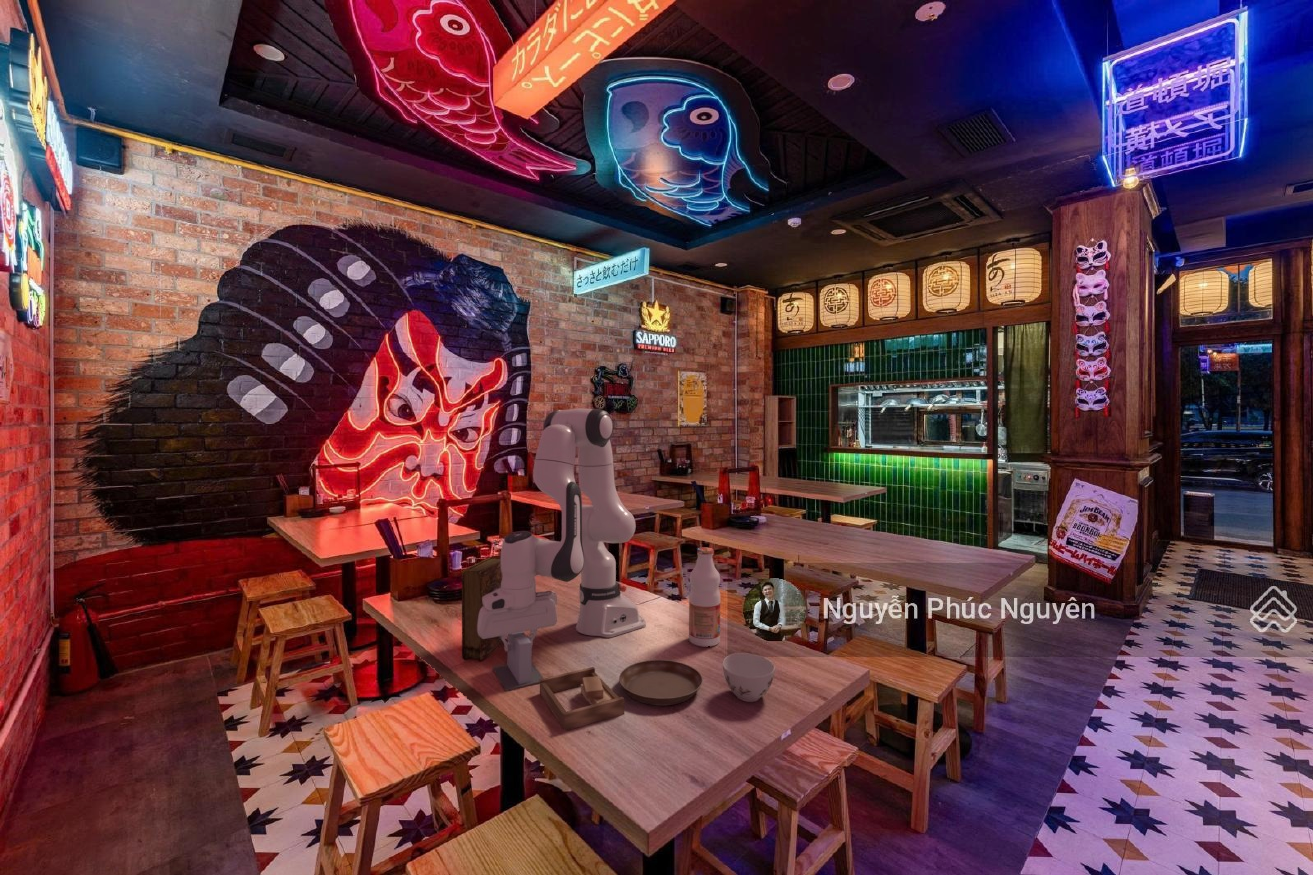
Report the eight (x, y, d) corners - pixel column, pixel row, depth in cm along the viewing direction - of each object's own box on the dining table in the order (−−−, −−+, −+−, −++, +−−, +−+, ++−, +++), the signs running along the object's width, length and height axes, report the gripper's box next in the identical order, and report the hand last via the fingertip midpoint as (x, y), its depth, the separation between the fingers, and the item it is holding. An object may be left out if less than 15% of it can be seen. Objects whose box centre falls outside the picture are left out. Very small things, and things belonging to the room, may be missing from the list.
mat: (529, 660, 149) (529, 659, 149) (545, 682, 137) (545, 680, 137) (492, 668, 144) (492, 666, 144) (505, 691, 132) (505, 689, 132)
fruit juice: (683, 638, 165) (683, 547, 164) (709, 632, 169) (710, 544, 168) (698, 649, 157) (699, 554, 156) (726, 644, 161) (727, 550, 160)
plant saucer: (655, 663, 148) (655, 651, 148) (718, 687, 135) (718, 674, 135) (601, 692, 132) (601, 679, 132) (667, 722, 119) (668, 707, 119)
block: (518, 663, 147) (519, 626, 146) (531, 681, 136) (531, 642, 136) (507, 665, 145) (507, 628, 145) (519, 684, 135) (519, 644, 134)
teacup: (748, 715, 122) (748, 680, 122) (711, 693, 132) (711, 660, 132) (792, 696, 131) (792, 663, 130) (754, 676, 141) (755, 646, 140)
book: (491, 637, 165) (491, 556, 164) (508, 639, 163) (508, 557, 163) (461, 661, 149) (461, 571, 148) (480, 663, 147) (479, 572, 147)
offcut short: (599, 684, 132) (599, 675, 132) (603, 698, 125) (603, 689, 125) (582, 685, 131) (582, 677, 131) (586, 700, 124) (586, 691, 124)
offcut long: (596, 690, 134) (596, 680, 134) (613, 709, 125) (613, 698, 125) (580, 694, 132) (580, 684, 132) (597, 713, 123) (597, 703, 123)
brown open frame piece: (593, 680, 138) (593, 666, 138) (624, 713, 122) (624, 698, 122) (539, 693, 131) (539, 679, 131) (565, 730, 115) (565, 714, 115)
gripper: (553, 586, 148) (553, 636, 148) (475, 597, 138) (476, 651, 138) (560, 592, 142) (560, 644, 143) (480, 605, 132) (481, 661, 133)
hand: (518, 648), depth 140 cm, fingers open, 4 cm apart
